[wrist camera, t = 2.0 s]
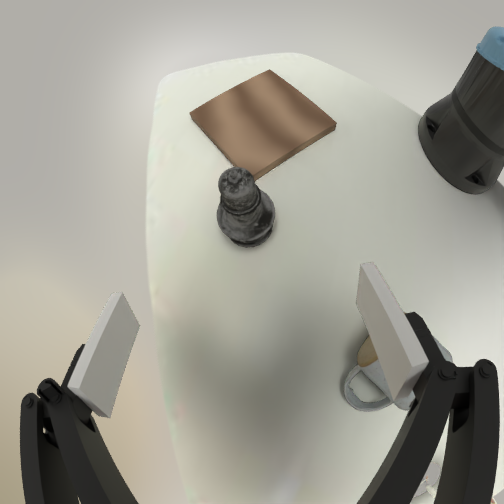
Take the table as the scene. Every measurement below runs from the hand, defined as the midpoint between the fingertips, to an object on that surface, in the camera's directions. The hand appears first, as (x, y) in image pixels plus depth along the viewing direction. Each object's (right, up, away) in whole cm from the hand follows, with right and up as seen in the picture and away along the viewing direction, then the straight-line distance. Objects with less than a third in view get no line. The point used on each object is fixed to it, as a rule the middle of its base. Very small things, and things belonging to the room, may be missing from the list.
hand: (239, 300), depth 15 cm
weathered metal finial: (0, +6, +17) cm, 18 cm away
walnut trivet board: (+2, +20, +20) cm, 28 cm away
